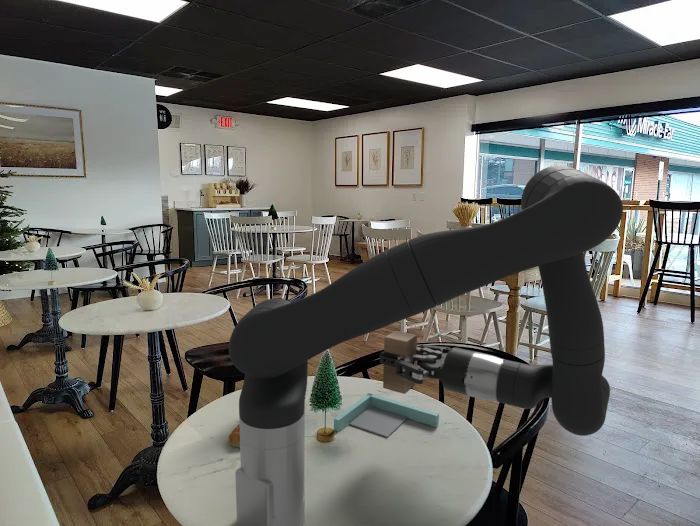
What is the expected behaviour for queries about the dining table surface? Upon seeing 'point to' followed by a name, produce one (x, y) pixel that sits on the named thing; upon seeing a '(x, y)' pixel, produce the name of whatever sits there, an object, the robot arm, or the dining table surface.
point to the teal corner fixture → (382, 415)
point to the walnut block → (403, 347)
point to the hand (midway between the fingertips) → (387, 353)
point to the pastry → (235, 437)
